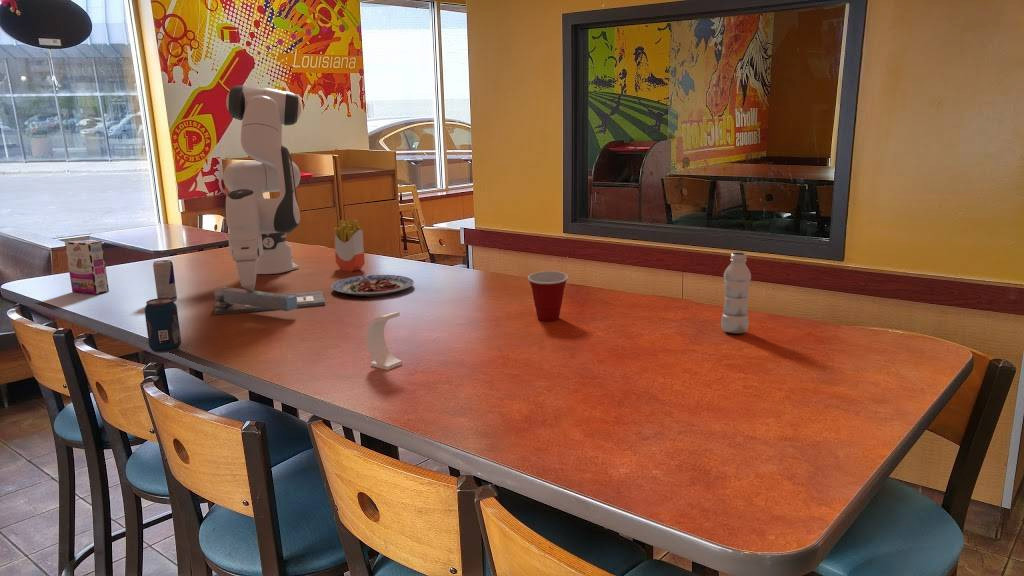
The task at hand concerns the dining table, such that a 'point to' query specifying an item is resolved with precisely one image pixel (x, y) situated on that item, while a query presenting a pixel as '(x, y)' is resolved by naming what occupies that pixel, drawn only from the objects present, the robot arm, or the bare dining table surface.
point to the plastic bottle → (736, 295)
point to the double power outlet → (302, 301)
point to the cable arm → (255, 298)
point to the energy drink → (164, 279)
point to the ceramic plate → (372, 285)
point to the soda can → (162, 325)
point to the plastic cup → (548, 293)
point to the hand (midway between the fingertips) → (251, 295)
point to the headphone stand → (380, 343)
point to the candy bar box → (87, 266)
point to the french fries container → (349, 246)
